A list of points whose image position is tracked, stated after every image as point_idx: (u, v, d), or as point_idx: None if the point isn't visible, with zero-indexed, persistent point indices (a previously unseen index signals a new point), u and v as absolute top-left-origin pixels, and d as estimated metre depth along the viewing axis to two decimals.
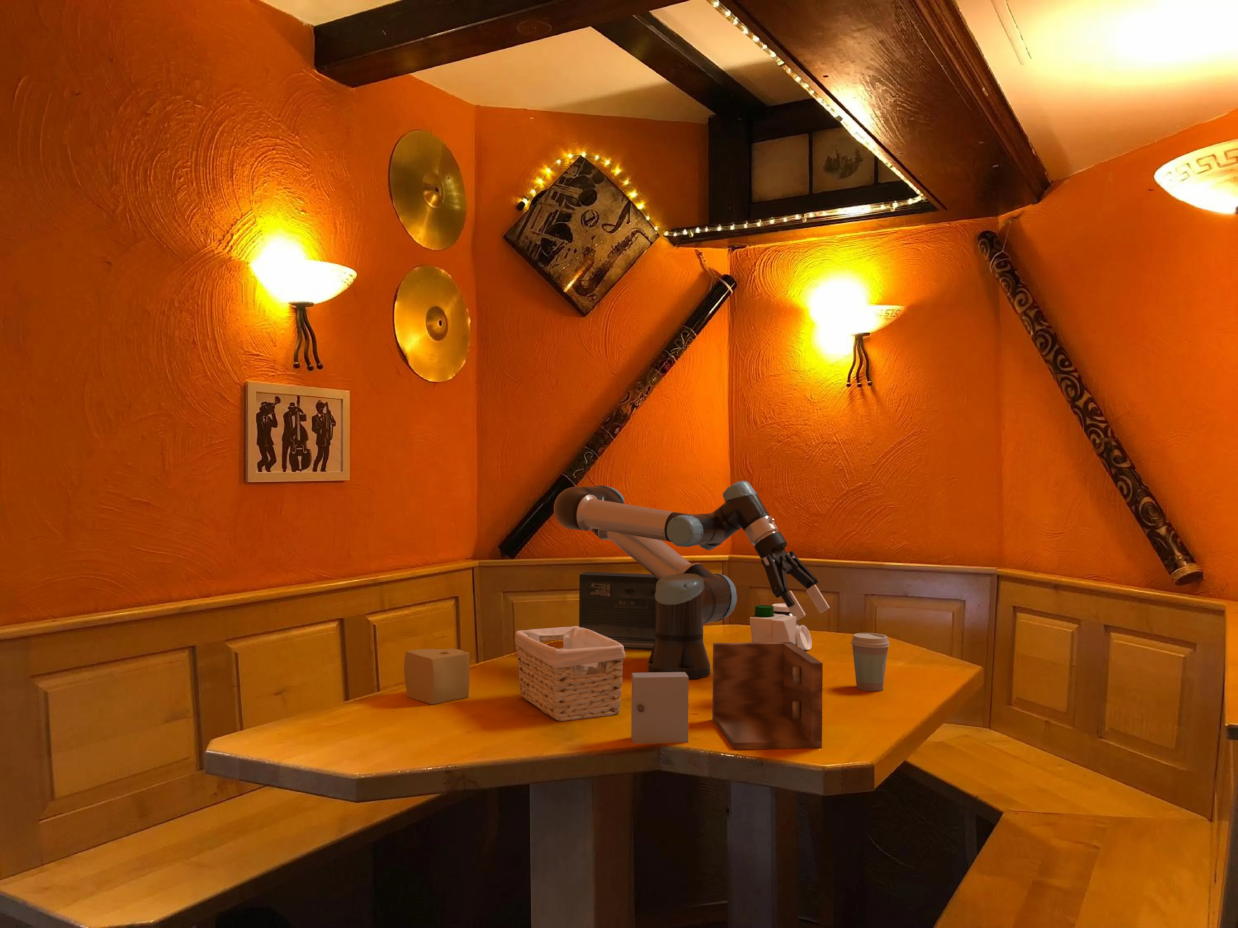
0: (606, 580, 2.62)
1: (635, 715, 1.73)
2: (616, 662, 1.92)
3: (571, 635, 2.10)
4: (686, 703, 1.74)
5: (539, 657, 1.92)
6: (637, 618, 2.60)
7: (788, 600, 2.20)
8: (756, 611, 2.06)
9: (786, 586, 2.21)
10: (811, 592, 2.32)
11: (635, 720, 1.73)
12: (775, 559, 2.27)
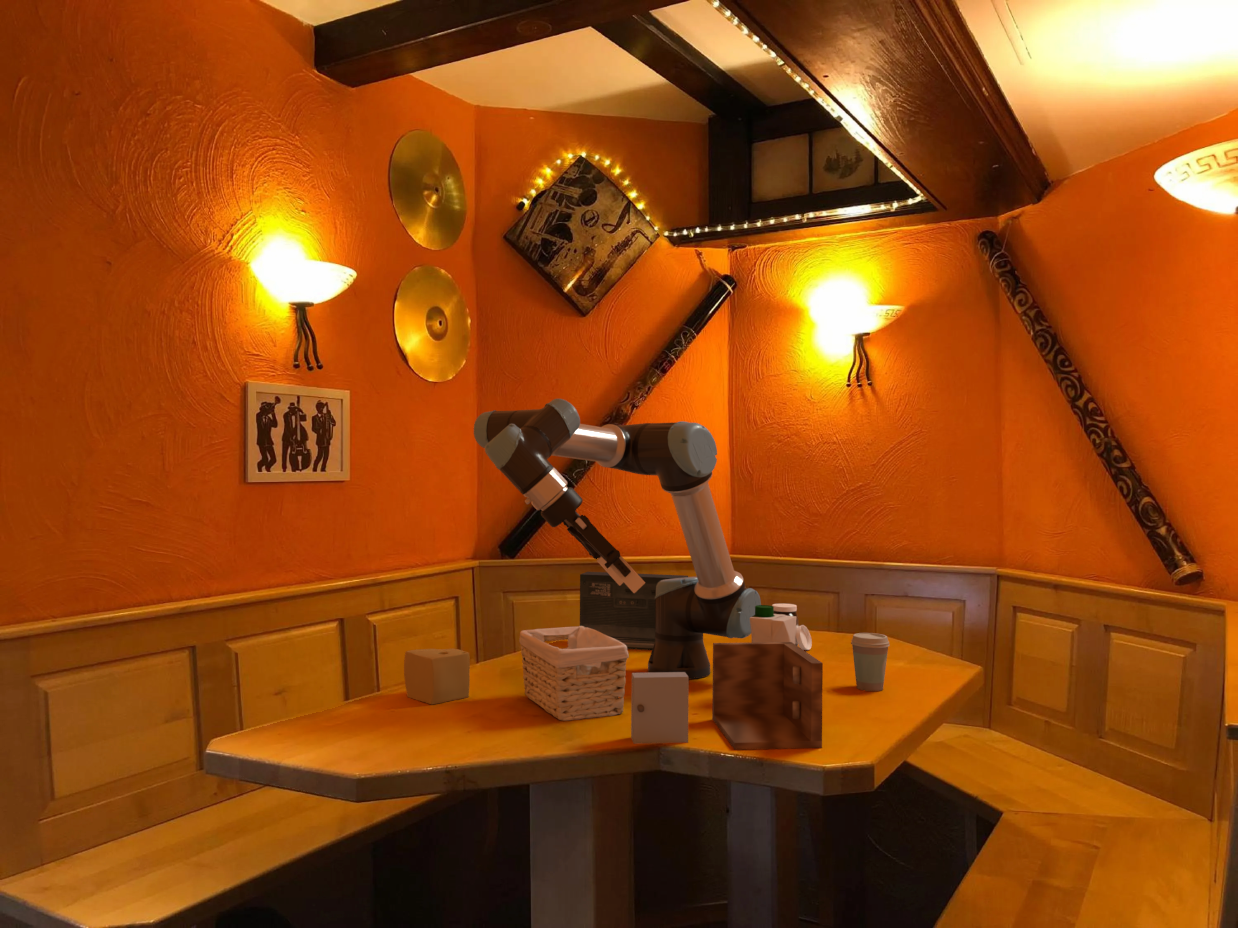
0: (607, 580, 2.62)
1: (635, 715, 1.73)
2: (619, 662, 1.92)
3: (576, 635, 2.10)
4: (686, 703, 1.74)
5: (542, 657, 1.92)
6: (637, 618, 2.60)
7: None
8: (756, 611, 2.06)
9: (592, 555, 1.80)
10: None
11: (635, 720, 1.73)
12: None
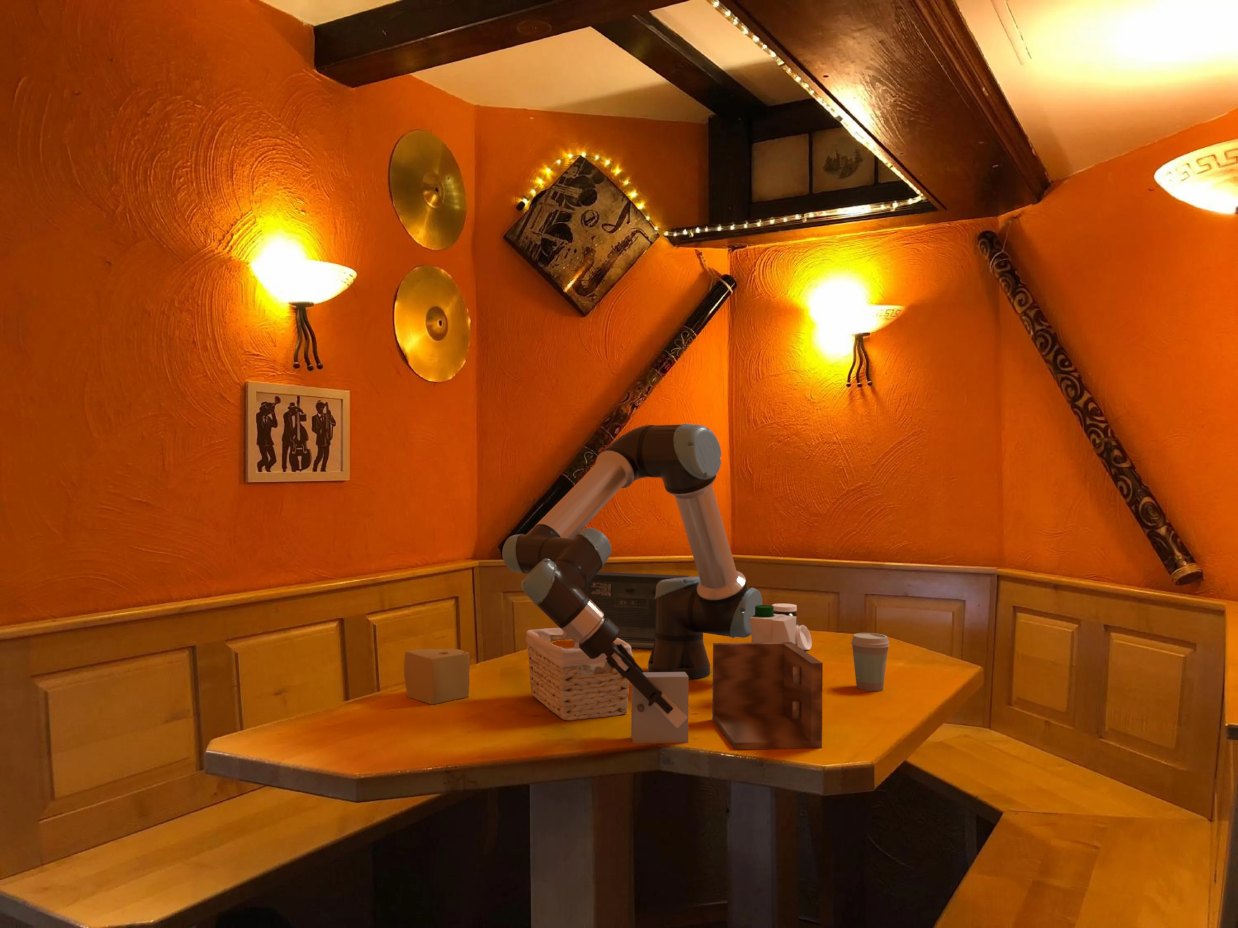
0: (607, 580, 2.63)
1: (635, 715, 1.73)
2: None
3: None
4: (686, 703, 1.74)
5: (547, 656, 1.93)
6: (638, 618, 2.60)
7: None
8: (756, 611, 2.06)
9: None
10: None
11: (635, 720, 1.73)
12: None
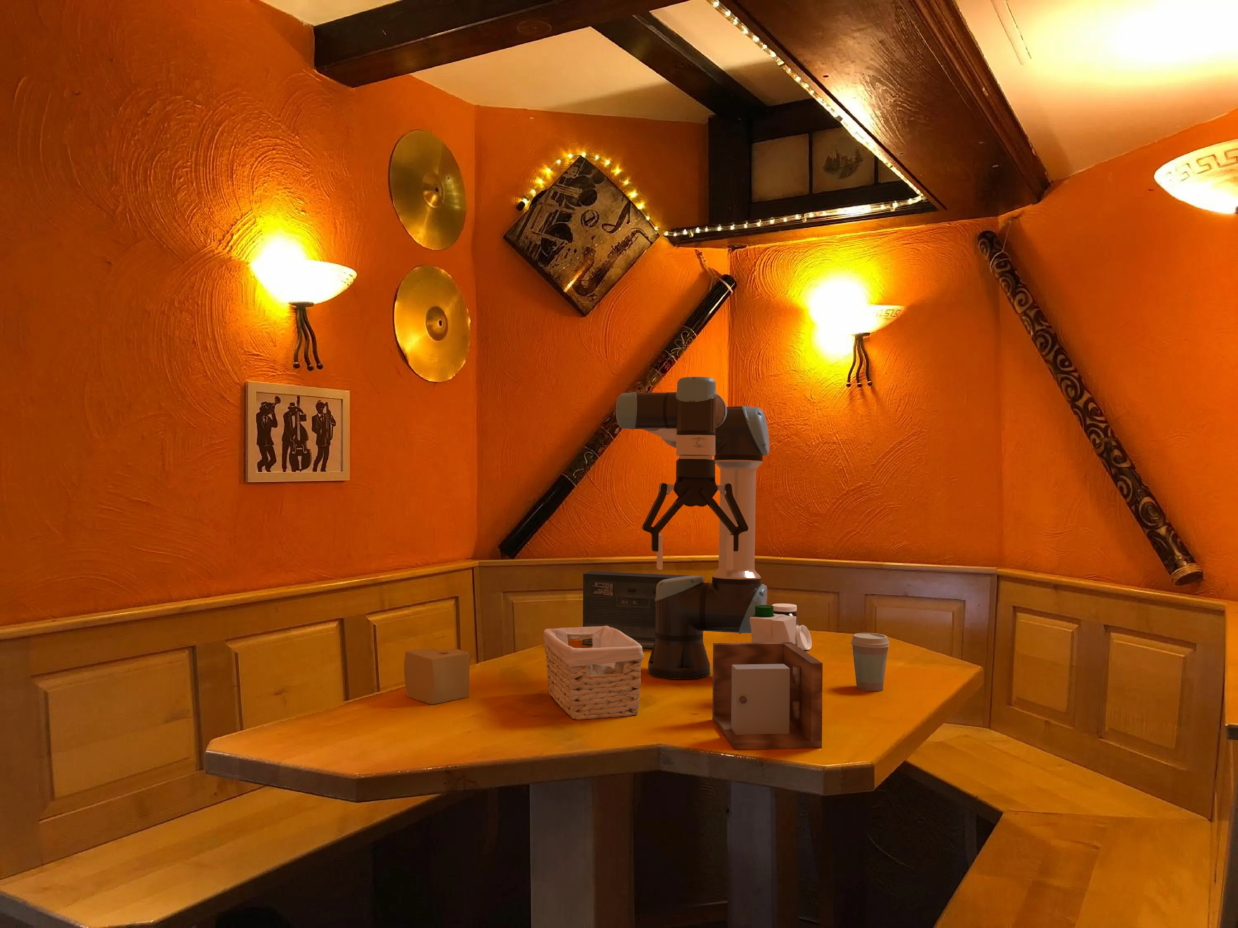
0: (609, 579, 2.63)
1: (737, 706, 1.75)
2: (634, 663, 1.91)
3: (601, 635, 2.11)
4: (787, 694, 1.76)
5: (559, 655, 1.94)
6: (639, 618, 2.61)
7: (652, 544, 1.81)
8: (756, 611, 2.06)
9: (659, 528, 1.80)
10: (727, 540, 1.83)
11: (737, 711, 1.75)
12: (676, 490, 1.81)
